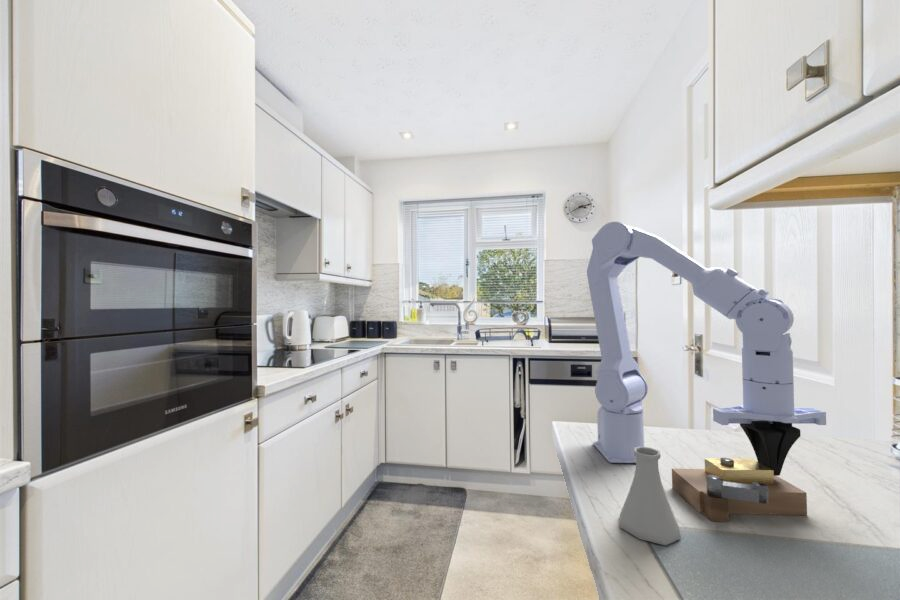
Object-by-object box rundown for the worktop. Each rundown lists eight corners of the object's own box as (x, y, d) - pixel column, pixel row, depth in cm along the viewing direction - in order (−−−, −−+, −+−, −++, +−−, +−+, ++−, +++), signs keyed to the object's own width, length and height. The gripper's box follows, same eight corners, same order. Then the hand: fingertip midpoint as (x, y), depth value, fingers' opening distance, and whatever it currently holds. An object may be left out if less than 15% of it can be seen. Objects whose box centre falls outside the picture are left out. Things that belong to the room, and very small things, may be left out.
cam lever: (764, 497, 48) (764, 481, 48) (771, 505, 47) (770, 487, 47) (705, 489, 51) (704, 474, 51) (709, 496, 49) (708, 479, 49)
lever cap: (705, 471, 56) (704, 454, 56) (752, 471, 56) (751, 454, 56) (722, 483, 52) (722, 465, 52) (774, 484, 52) (773, 465, 52)
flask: (609, 528, 48) (607, 451, 48) (629, 506, 53) (627, 436, 53) (672, 555, 42) (670, 468, 43) (688, 527, 47) (686, 450, 48)
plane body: (672, 487, 57) (671, 468, 57) (765, 489, 57) (765, 469, 57) (708, 520, 49) (707, 498, 49) (819, 522, 48) (818, 499, 48)
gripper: (735, 386, 51) (738, 485, 50) (846, 386, 50) (850, 486, 50) (703, 376, 58) (705, 463, 57) (800, 375, 57) (802, 463, 57)
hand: (769, 472), depth 54 cm, fingers closed
